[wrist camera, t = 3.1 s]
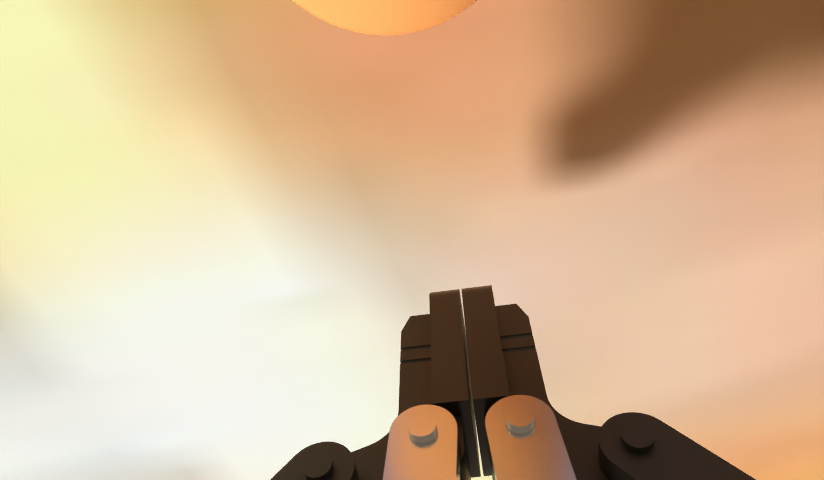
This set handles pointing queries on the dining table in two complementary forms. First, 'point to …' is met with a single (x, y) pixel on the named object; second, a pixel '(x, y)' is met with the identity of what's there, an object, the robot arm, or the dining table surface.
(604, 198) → the dining table surface
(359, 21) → the ball
